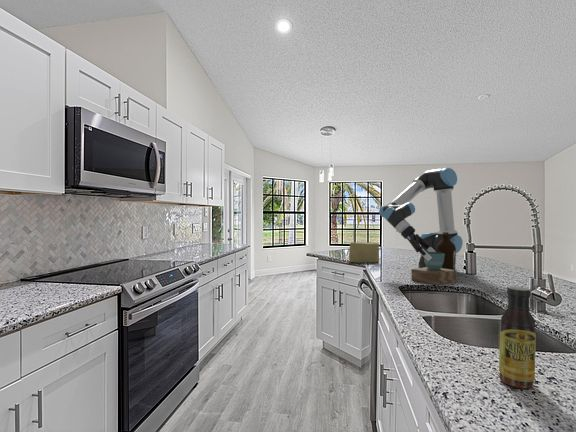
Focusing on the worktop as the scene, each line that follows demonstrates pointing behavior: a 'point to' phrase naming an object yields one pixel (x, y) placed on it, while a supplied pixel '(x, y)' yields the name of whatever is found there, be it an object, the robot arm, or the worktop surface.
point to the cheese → (364, 252)
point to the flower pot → (435, 261)
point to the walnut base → (434, 275)
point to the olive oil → (447, 251)
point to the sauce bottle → (517, 340)
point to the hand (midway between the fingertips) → (433, 258)
